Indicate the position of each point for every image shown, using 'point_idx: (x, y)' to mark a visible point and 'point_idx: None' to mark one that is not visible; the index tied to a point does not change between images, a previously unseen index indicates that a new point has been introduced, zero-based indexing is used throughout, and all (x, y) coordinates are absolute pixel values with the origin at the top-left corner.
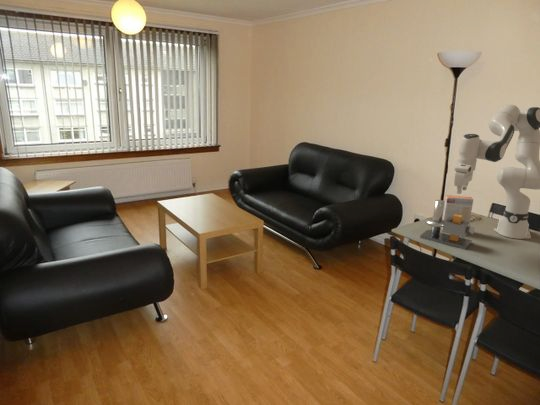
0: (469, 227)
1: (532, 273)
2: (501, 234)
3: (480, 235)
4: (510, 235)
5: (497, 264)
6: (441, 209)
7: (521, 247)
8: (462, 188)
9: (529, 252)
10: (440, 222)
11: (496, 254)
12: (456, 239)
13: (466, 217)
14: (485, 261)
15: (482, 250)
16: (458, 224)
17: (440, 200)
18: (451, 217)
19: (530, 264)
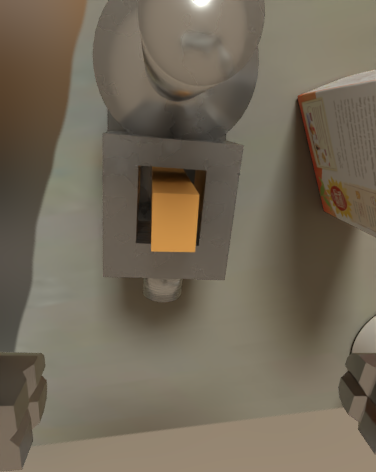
0: (154, 279)
1: (51, 438)
2: (371, 321)
3: (327, 258)
4: (360, 352)
5: None
6: (156, 77)
7: (270, 385)
8: (371, 368)
9: (235, 408)
10: (162, 96)
11: (141, 340)
12: (151, 199)
13: (371, 218)
14: (36, 325)
15: None
16: (113, 231)
17: (233, 13)
18: (351, 133)
19: (125, 424)
